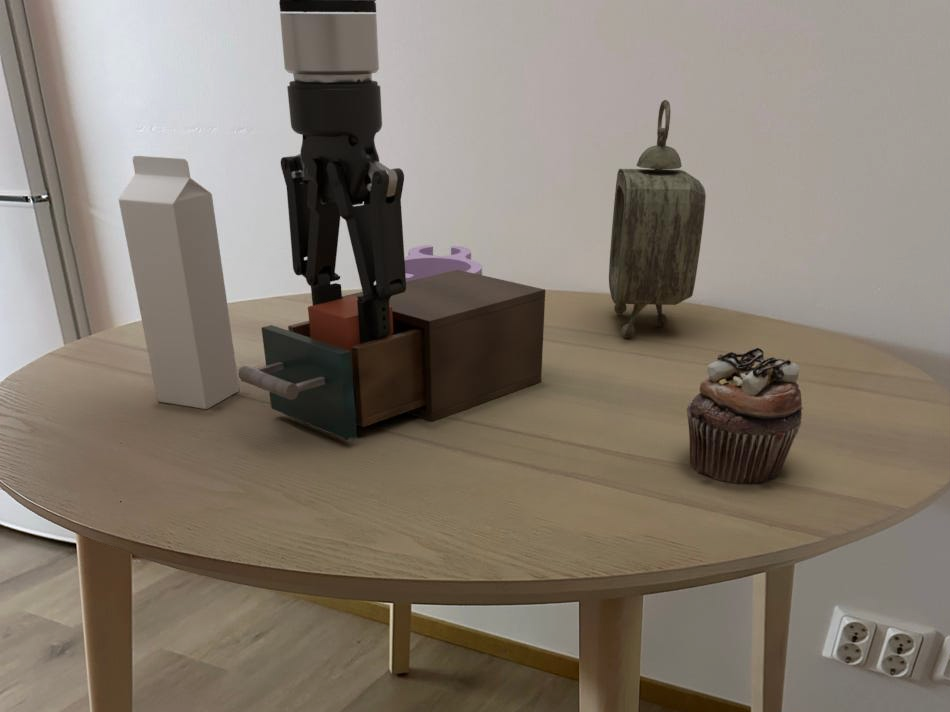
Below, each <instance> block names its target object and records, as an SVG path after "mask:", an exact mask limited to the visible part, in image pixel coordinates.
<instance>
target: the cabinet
mask: <svg viewBox="0 0 950 712" xmlns="http://www.w3.org/2000/svg"><path fill="white" fill-rule="evenodd" d="M351 296H355V297H359V296H363V291H359V292H355V293H350V294H347V295H342V299H343V298H347V297H351ZM389 306H392V315H393V320H397V321H400V322H404V323H407V324H411V325H415V326H418V327H422V328H425V329H424V344H425V383H426V405H425V406H422V407H419V408H416V409H413V410H410V411H408V412H406V413H407V414H410V415H412V416H416V417H418V418H421V419H423V420H426V421H429V422H436V421H438V420H440V419H443V418H446V417H449V416H451V415H455V414H457V413H459V412H463V411H465V410H468V409H470V408H473V407H476V406H479V405H481V404H483V403H487V402H489V401H492V400H495V399H497V398H500V397H503V396H505V395H508V394H511V393H514V392H516V391H519V390H522V389H525V388H527V387H530V386H533V385H536V384H538V383H542V373H543V371H542V370H543V353H544V351H543V348H544V332H545V331H544V327H545V325H544V324H545V306H546V289H544V288H541V287H536V286H532V285H526V284H523V283H519V282H515V281H510V280H504V279H500V278H497V277H492V276H487V275H483V274H482V275H479V274H474V273H470V272H465V271H461V270H454V271H450V272H445V273H441V274H437V275H432V276H428V277H424V278H420V279H415V280H411V281H407V282H406V290H405V292H404V293H399V294H396V295H393V296H391V297H390V300H389Z"/></svg>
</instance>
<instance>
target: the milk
mask: <svg viewBox="0 0 950 712" xmlns="http://www.w3.org/2000/svg"><path fill="white" fill-rule="evenodd" d="M132 165H133V171H134V175H133V176H132V178H131V179H130V181H129V183H128V184H127V186H126V187H125V188H124V190H123V191H122V192H121V195H120V196H119V198H118V204H119V210H120V214H121V215H120V216H121V219H122V225H123V229H124V235H125V241H126V245H127V250H128V255H129V262H130V266H131V272H132V276H133V282H134V286H135V292H136V297H137V302H138V307H139V312H140V318H141V322H142V329H143V334H144V338H145V343H146V349H147V355H148V359H149V364H150V365H149V366H150V370H151V373H152V374H151V376H152V380H153V386H154V390H155V396H156V400H157V402H158V403H163V404H164V403H165V404H170V405H175V406H176V405H177V406H182V407H189V408H195V409H202V410H208V409H210V408H212V407H213V406H216V405H217V404H219V403H221V402H222V401H224V400H226V399H228V398H230V397H231V396H233V395H235V394H237V393H238V392H240V386H239V385H240V384H239V376H238V371H237V370H238V369H237V363H236V356H235V348H234V342H233V341H234V340H233V336H232V335H233V334H232V329H231V327H232V326H231V320H230V315H229V314H230V313H229V307H228V298H227V293H226V292H227V291H226V285H225V278H224V271H223V264H222V257H221V249H220V243H219V242H220V241H219V235H218V228H217V222H216V221H217V220H216V214H215V206H214V200H213V194H212V193H211V191H209V190H207V189H206V188H205V187H204V186H202V185H201V184H199V183H198V182H196V181H195V180H194V179H192V178H191V173H190V167H189V162H188V160H187V159H186V158H179V157H178V158H177V157H164V156H163V157H162V156H148V155H133V157H132Z"/></svg>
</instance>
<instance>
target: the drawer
mask: <svg viewBox="0 0 950 712" xmlns="http://www.w3.org/2000/svg"><path fill="white" fill-rule="evenodd" d="M424 329H425V328H422V327H418V326H415V325H411V324H407V323H404V322H400V321H397V320H393V335H392V336H388V337H384V338H381V339H377V340H373V341H370V342H366V343H363V344H359V345H355V346H352V353H353V367H354V378H353V374H352V360H351V351H350V350H347V349H344V348H340V347H337V346H334V345H331V344H328V343H325V342H322V341H319V340H316V339H313V338H311V335H310V325H309V320H307V321H302V322H298V323H294V324H290V325H287V329H285V328H281V327H279V326H276V325H273V324H270V325H267V326H263V327H261V336H262V344H263V351H264V360H265V365H263V366H259V367H256V368H253V367H252V366H251V367H250V366H248V365H243V366H241V367H240V369H238V379H239V380H240V381H242V382H244V383H245V384H249V385H252V386H254V387H256V388H259V389H261V390H264V391H266V392H269V401H270V408H271V410H274V411H276V412H278V413H281V414H283V415H285V416H288V417H291V418H293V419H296V420H298V421H300V422H303V423H305V424H307V425H310V426H312V427H315V428H317V429H320V430H322V431H324V432H327V433H329V434H331V435H335V436H337V437H340V438H342V439H344V440H350V439H353V438H357V436H358V433H357V426H358V427H362V428H365V427H368V426H370V425H372V424H373V425H374V424H376V423H379V422H383V421H384V420H387V419H390V418H393V417H396V416H399V415H402V414H405V413H407V412H408V411H410V410H413V409H416V408H419V407H422V406H425V405H426V383H425V344H424Z"/></svg>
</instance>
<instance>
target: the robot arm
mask: <svg viewBox="0 0 950 712" xmlns="http://www.w3.org/2000/svg"><path fill="white" fill-rule="evenodd" d="M376 1H377V0H279V11H280V13H279V16H280V30H281V40H282V52H283V64H284V70H285V71H286V72H287V73H288V74H292V75H293V80H291V81H289V85H287V86H286V88H287V100H288V108H289V120H290V126H291V129H292V131H293V132H294V133H296V134H299V135H302V141H301V146H300V153H298V154H297V155H291V156H283V157H282V158H280V168H281V171H282V175H283V179H284V182H285V186H286V198H287V209H288V221H289V235H290V247H291V259H292V261H291V262H292V269H293V272H294V274H295V275H296V276H302V277H304V278H305V280H306V283H307V285H308V286H310V293H311V302H312V306H313V305H317V304H321V303H326V302H330V301H334V300H338V299H342V296H343V294H342V293H343V291H342V284H340V283H338V282H336V281H340V280H341V275H339V274H338V273H337V272H336V266H337V265H336V264H337V254H338V244H339V233H340V226H341V218H342V219H343V220H345V222H346V227H347V231H348V236H349V240H350V244H351V248H352V253H353V257H354V261H355V264H356V265H355V266H356V270H357V274H358V278H359V282H360V283H359V284H360V288H361V292H363V296H359V297H357V298H358V300H357V306H358V319H359V334H360V344H363V343H366V342H370V341H373V340H377V339H381V338H384V337H388V336H387V335H389V334H390V319H389V318H390V311H389V300H390V297H391V296H393V295H396V294H399V293H404V292H405V290H406V274H405V259H404V257H405V245H404V244H405V243H404V230H403V215H402V214H403V213H402V195H403V190H404V184H405V174H404V173H405V172H404V171H403V169H402V168H400V167H396V168H389V167H387V166H386V165H385V164H383V163H381V162H380V156H379V154H378V152H377V151H378V150H377V148H376V143H375V138H376V134H377V133H379V132H380V131H381V130H382V127H383V116H382V114H383V113H382V94H381V92H382V91H381V86H380V85H379V83H378V81H377V80H373V74H376V73H378V71H379V69H380V62H379V61H380V60H379V44H378V43H379V42H378V21H377V3H376ZM305 258H306V259H305ZM332 282H334V283H332Z"/></svg>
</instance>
